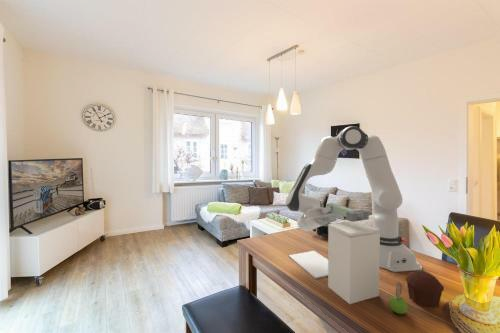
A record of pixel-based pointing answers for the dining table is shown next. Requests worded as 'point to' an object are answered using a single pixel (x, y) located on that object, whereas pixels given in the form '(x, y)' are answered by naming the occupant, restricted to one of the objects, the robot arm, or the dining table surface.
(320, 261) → the mat
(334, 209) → the t-shaped bar
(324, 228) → the milk frother
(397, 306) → the green rounded piece
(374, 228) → the tall white box
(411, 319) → the dining table surface
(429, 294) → the muffin
